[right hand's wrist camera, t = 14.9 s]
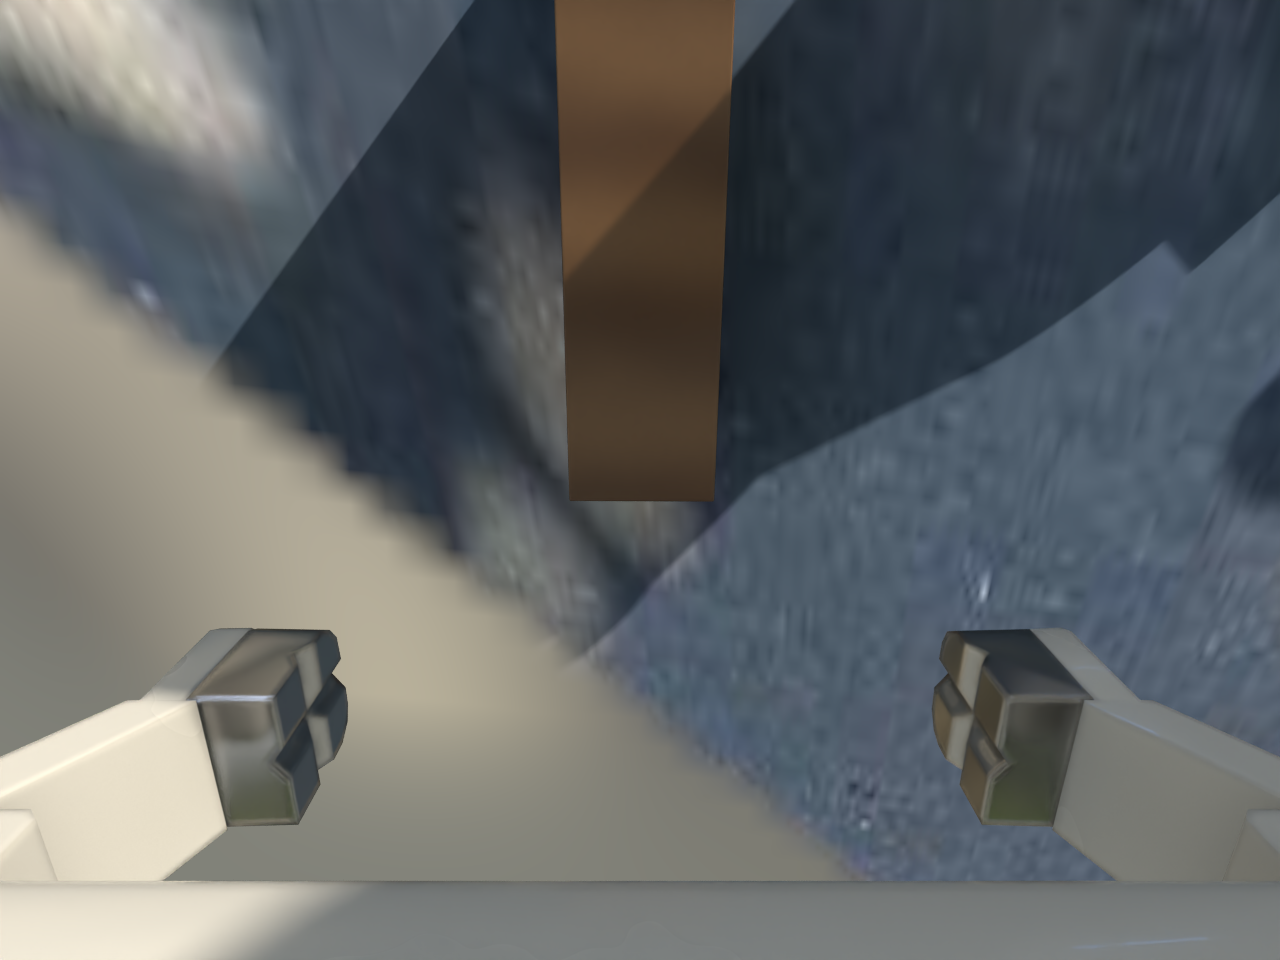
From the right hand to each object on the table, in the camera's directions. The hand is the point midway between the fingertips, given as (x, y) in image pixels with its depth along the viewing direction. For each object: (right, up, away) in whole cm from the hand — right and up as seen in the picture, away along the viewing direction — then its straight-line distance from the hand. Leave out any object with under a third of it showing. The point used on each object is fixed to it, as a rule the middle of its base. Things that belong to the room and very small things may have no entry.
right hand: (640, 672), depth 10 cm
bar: (0, +15, +22) cm, 27 cm away
